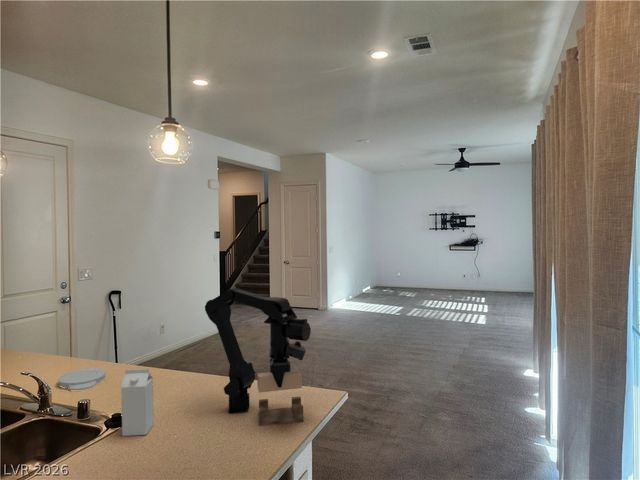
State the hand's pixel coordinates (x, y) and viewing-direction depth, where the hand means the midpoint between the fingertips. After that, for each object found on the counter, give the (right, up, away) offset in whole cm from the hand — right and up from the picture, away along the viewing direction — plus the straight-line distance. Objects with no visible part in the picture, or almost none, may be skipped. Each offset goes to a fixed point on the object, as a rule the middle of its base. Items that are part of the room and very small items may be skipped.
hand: (279, 384), depth 135 cm
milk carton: (-43, -12, -7) cm, 45 cm away
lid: (-84, -12, +34) cm, 91 cm away
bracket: (0, -11, +1) cm, 11 cm away
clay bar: (0, -1, 0) cm, 1 cm away
